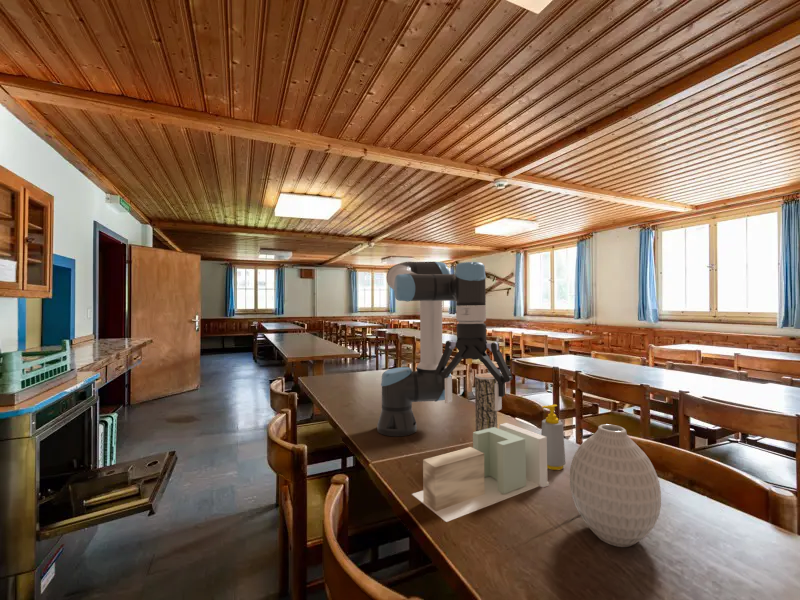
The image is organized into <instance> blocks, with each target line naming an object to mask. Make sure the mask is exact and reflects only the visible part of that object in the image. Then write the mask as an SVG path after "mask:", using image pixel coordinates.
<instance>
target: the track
mask: <svg viewBox="0 0 800 600" xmlns="http://www.w3.org/2000/svg"><path fill="white" fill-rule="evenodd" d="M498 426H499V427H498V429H501V430H503V431H506V432H509V433H511V434H514V435H516V436H519V437H522V438H524V439H525V454H526V486H524V487H521V488H518V489H516V490H513V491H510V492H508V493H505V494H503V493H501V492H499V491H498V480H496V479H495V478H493V477H491V476H487V477H484V482H485V494H483V495H480V496H477V497H474V498H472V499H469V500H466V501H463V502H461V503H458V504H455V505H452V506H450V507H447V508H444V509H441V510H438V511H435V510H433V509H432V508H431V507H430V506H428V505H427V504H426V503H425V502H423V490H420V491H417V492H413V493H411V496H413V497H414V498H415V499H417V500H418V501H419V502H420V503H421V504H423V505H424V506H425V507H427V508H428V509H429V510H430V511H432V512H433V513H434V514H436V516H438V517H439V518H440V519H442V521H444V522H446V523H448V522H450V521H453V520H456V519H458V518H461V517H463V516H466V515H468V514H472V513H474V512H476V511H479V510H481V509H484V508H486V507H490V506H492V505H494V504H497V503H499V502H502V501H504V500H507V499H510V498H512V497H515V496H517V495H519V494H523V493H525V492H527V491H531V490H533V489H535V488H539V487H541V488H545V487H547V486H549V485H550V482H549V481H548V468H547V437H545V436H543V435H541V434H539V433H536V432H533V431H531V430H528V429H526V428H522V427H520V426H517V425H514V424H511V423H509V422H504V423H500V424H499V425H498Z"/></svg>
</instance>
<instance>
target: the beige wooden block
mask: <svg viewBox="0 0 800 600" xmlns="http://www.w3.org/2000/svg"><path fill="white" fill-rule="evenodd" d="M422 476H423V477H422V482H423V485H422V486H423V489H422V491H423V502H425V503H426V504H427V505H428V506H430V507H431V508H432V509H433V510H435V511H438V510H441V509H444V508H447V507H450V506H452V505H455V504H458V503H461V502H463V501H466V500H469V499H472V498H474V497H477V496H480V495H483V494H485V482H484V453H482V452H480V451H478V450H476V449H474V448H473V446H468V447H465V448H461V449H458V450H454V451H451V452H447V453H442V454H439V455H436V456H435V455H434V456H432V457H428V458H424V459H423V460H422Z"/></svg>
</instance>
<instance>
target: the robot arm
mask: <svg viewBox="0 0 800 600" xmlns="http://www.w3.org/2000/svg"><path fill="white" fill-rule="evenodd" d="M486 279H487V276H486V267H485V265H484V263H482V262H480V261H465V262H459V263H457V264H456V265H455V272H454V273H450V269H449V267H448V265H447V264H446V262H441V261H404V262H403V261H402V262H400V263H397V264H394V265H393V266H392V267H390V268H389V269H388V271H387V273H386V282H387V285H388V286H389V287H390V288H391V289H392V290H393V291H394V298H395V299H396V300H397V302H398V301H401V302H406V303H407V302H418V301H419V312H420V313H419V315H420V316H419V320H420V321H419V322H420V323H419V324H420V326H419V329H420V331H419V333H420V336H419V337H420V338H419V342H420V344H419V345H420V348H419V349H420V358H419V359H420V361H419V362H418V364H417V365H416V370H415V371H414V370H413V369H412V368H411V367H407V366H403V367H402V366H401V367H394V368H389V369H387V370H385V371H384V372H382V374H381V383H380V386H381V411H380V414H379V418H378V422H377V425H376V427H377V428H376V429H377V432H378V433H379V434H380V435H383V436H387V437H403V436H404V437H405V436H406V437H407V436H409V435H413V434H414V433H416V432H417V431H418V430H417V421H416V418H415V416H414V411H413V406H412V405H413V403H418V402H419V403H420V402H421V403H422V402H441V401H444V403H445V404H449V403H452V402H453V377H452V374H451V373H452V372H453V371H454V370H455V369H456V367H457V366H458V365H459V364H460V363H461V361H462V360H463V359H464V360H470V359H471V360H476V361H477V360H479V361H480V362H481V363H482V364H483V365H484V367H485V368H486V369H487V370H488V372H489V374H492V375H493V377H494V378H495V379H496V381H497V383H495V411H497V412H499V411H500V410H502V409H503V406H502V405H503V403H502V402H503V401H502V400H503V399H502V398H503V397H505V395H506V383H507V382H510V381H512V380H513V379H514V378H513V375H512V373H511V370H510V369H509V366H508V364H507V363H506V360H505V359H504V357H503V354H502V352H501V349H500V343H499V342H497V341H495V342H490V343H489V342H488V341H487V324H486V323H484V322H486V321H487V309H486V308H487V307H486V306H487V305H486V302H487V301H486V299H487V298H486V295H487V293H486V286H487V285H486V284H487V283H486ZM443 301H445V302H446V301H447V302H451V301H452V302H455V305H456V308H455V309H456V318H455V321H456V322H458V323H457V324H456V341H454V340H451V339H450V340H446V341H445V343H444V344H445V347H444V349H443ZM455 348H456V349H457V351H458V352H456V354H455V355H454V357H453V358H452V360H451V361H450V363H449V364H448V362H449V360H450V357H451V355H452V353H453V351H454V349H455ZM443 350H444V351H443ZM487 350H489V352H491V354H492V356H493V358H494V360H495V363H496V365H497V366H496V365H495V363H494V362H493V361H492V360H491V358H490V356H489V355H488V354H487V352H486V351H487ZM447 364H448V365H447Z"/></svg>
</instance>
